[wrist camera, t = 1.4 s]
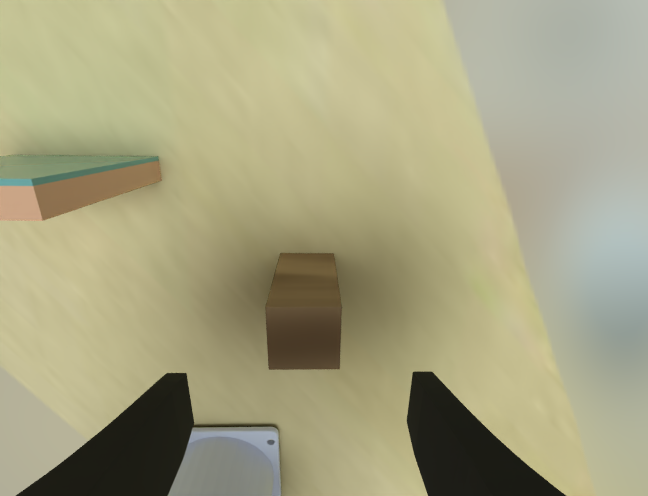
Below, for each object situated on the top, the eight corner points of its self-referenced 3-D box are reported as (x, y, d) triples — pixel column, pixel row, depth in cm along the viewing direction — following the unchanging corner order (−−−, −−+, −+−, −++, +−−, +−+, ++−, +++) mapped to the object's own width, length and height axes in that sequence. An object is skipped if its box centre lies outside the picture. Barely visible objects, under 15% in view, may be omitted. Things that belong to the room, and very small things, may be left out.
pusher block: (332, 300, 20) (339, 369, 14) (282, 300, 20) (268, 369, 14) (333, 253, 19) (341, 306, 13) (280, 253, 19) (265, 307, 13)
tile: (161, 180, 17) (43, 220, 10) (22, 179, 17) (-209, 218, 9) (158, 156, 17) (31, 178, 9) (16, 154, 17) (-232, 176, 9)
